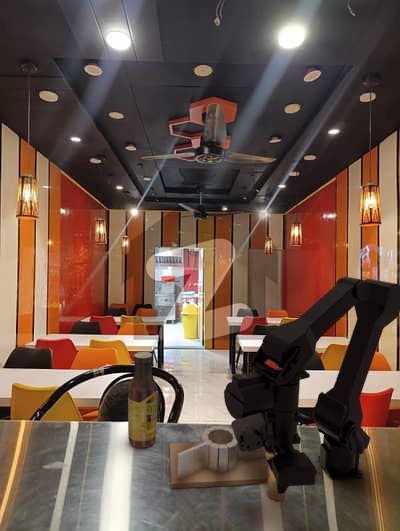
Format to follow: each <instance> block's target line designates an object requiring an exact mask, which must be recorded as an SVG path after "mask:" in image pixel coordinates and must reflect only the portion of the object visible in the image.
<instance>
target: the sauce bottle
mask: <svg viewBox="0 0 400 531" xmlns="http://www.w3.org/2000/svg"><path fill="white" fill-rule="evenodd" d="M153 360H154V359H153V354H152V353H151V352H148V351H139V352H136V353H134V354H133V363H134V372H133V374H134V375H133V377H132V378H131V380H130V382H129V384H128V385H129V386H128V397H127V398H128V399H127V402H128V405H127V406H128V407H127V415H128V416H127V420H128V421H127V422H128V423H127V424H128V425H127V430H128V431H127V434H128V442H129V444H130V445H131V446H132V447H134V448H138V449H139V448H140V449H143V448H147V447H150V446H151V445H154V443H155V442H156V438H157V431H158V430H157V424H158V421H157V420H158V416H157V415H158V414H157V413H158V387H157V385H156V381H155V379H154V378H155V377H154V376H153V371H152V370H153V369H152V368H153V367H152V364H153V363H152V362H153Z"/></svg>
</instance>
